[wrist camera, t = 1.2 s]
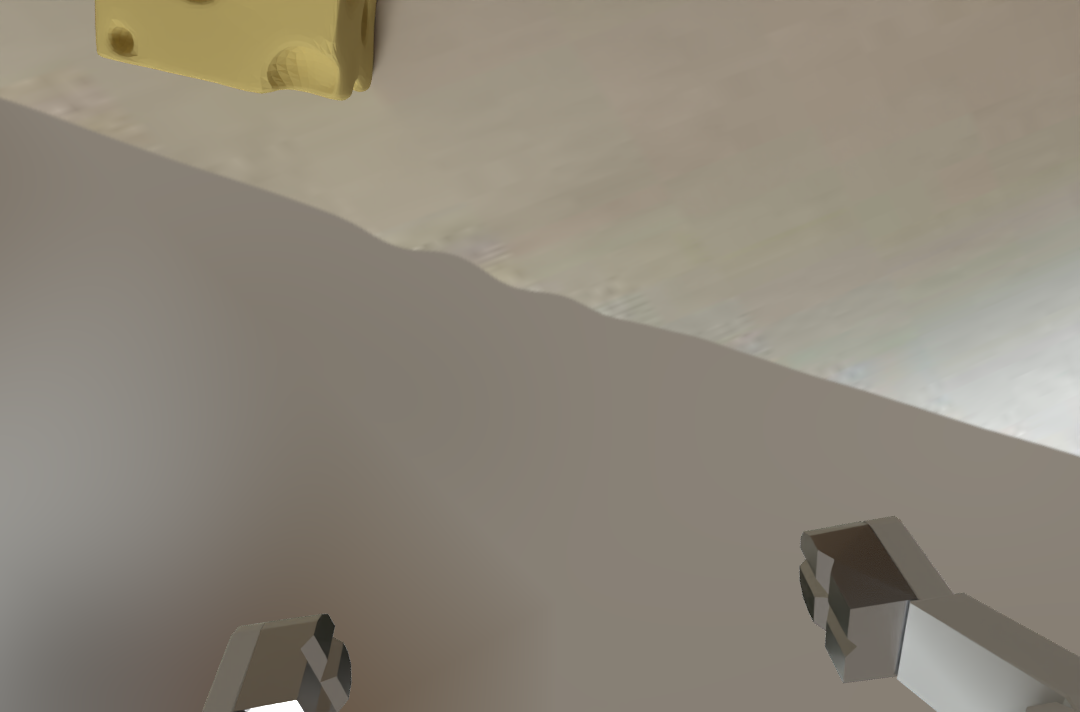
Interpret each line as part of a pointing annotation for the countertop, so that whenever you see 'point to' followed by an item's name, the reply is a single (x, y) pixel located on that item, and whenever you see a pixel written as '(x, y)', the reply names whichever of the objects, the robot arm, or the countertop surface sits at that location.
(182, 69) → the cheese
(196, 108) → the countertop surface
